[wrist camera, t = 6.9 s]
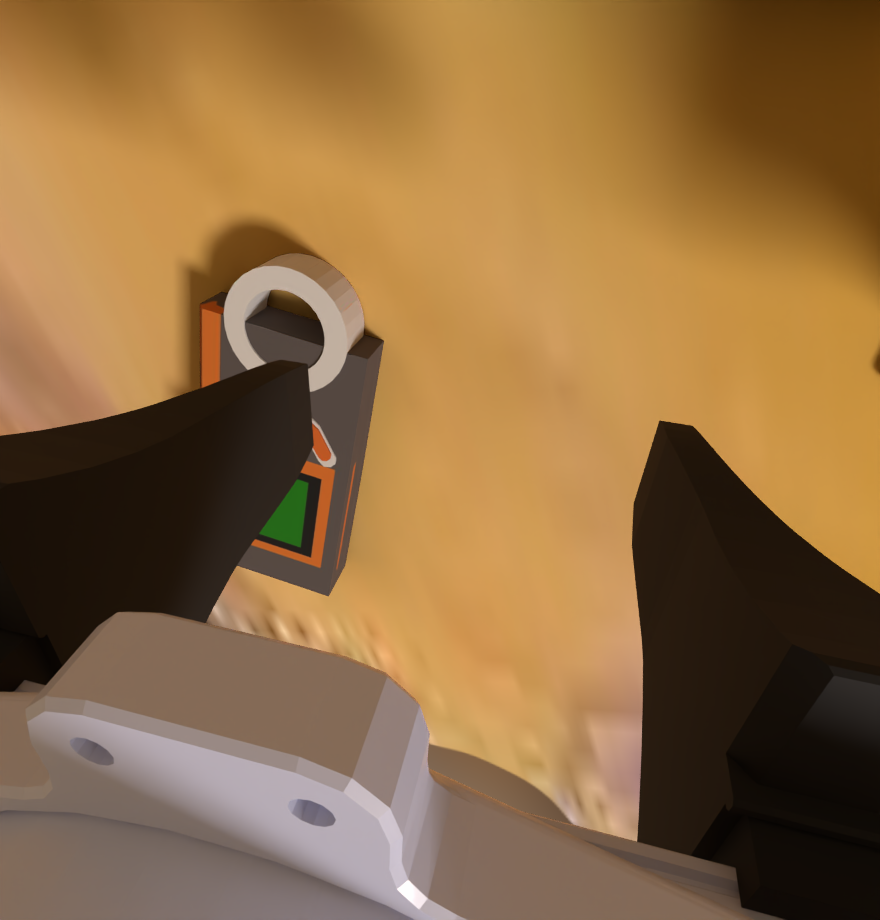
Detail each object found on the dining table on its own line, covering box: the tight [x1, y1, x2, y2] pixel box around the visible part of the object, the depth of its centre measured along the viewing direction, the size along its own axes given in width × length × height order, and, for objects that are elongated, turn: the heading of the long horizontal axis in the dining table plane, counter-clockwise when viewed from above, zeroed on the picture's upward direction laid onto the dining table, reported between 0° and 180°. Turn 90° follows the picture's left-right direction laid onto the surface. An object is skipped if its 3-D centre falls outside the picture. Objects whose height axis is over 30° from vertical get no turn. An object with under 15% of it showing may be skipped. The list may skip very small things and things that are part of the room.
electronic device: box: [200, 253, 384, 596], centre depth 25 cm, size 7×3×15 cm
